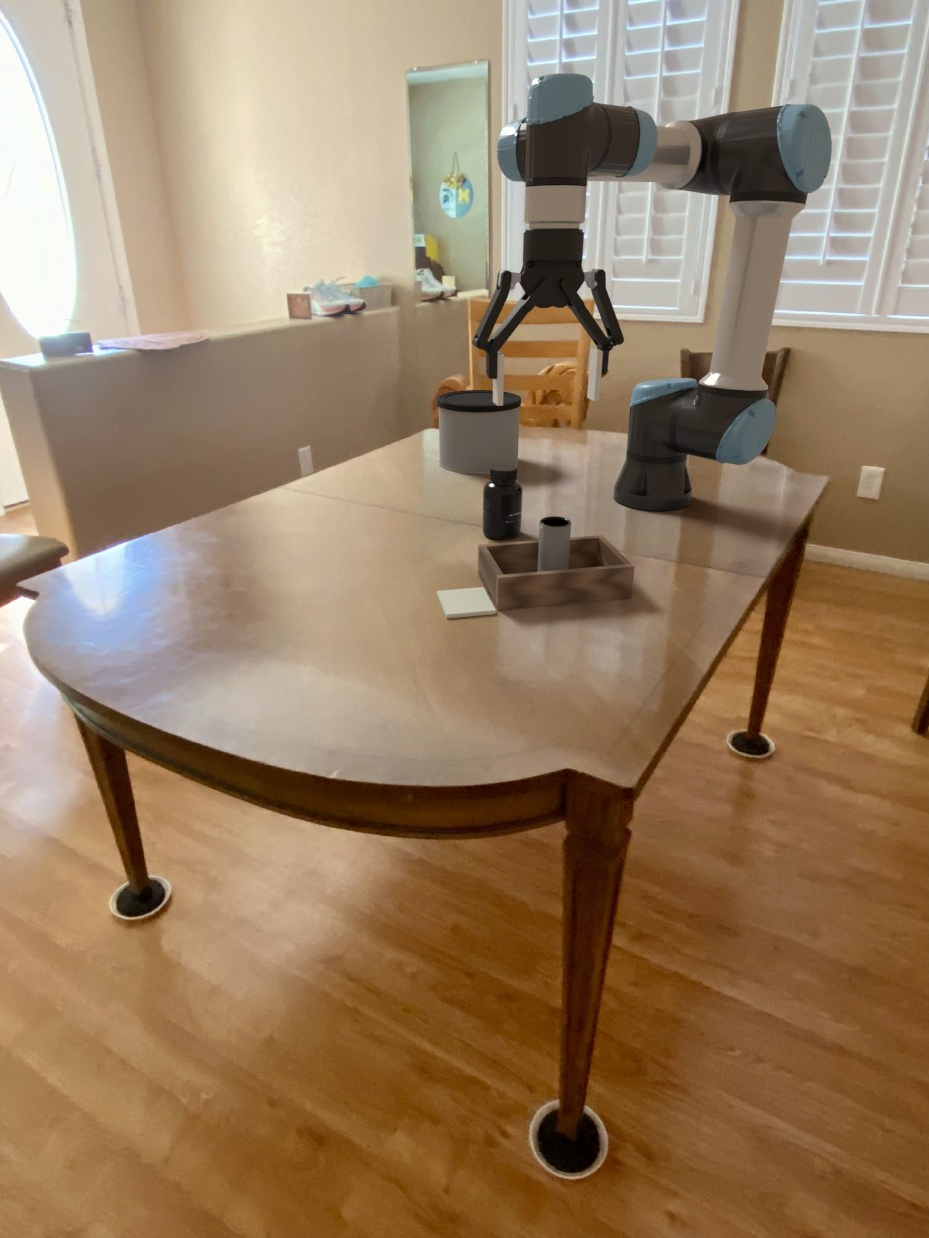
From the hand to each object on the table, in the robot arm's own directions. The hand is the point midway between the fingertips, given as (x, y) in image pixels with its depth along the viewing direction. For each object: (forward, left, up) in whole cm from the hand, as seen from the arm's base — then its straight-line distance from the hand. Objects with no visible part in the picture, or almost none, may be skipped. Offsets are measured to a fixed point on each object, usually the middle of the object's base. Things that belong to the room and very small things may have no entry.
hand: (546, 401), depth 104 cm
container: (-6, -69, -27) cm, 74 cm away
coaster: (+12, +5, -27) cm, 30 cm away
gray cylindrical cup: (-2, +2, -27) cm, 27 cm away
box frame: (-2, +2, -27) cm, 27 cm away
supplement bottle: (0, -22, -27) cm, 35 cm away
